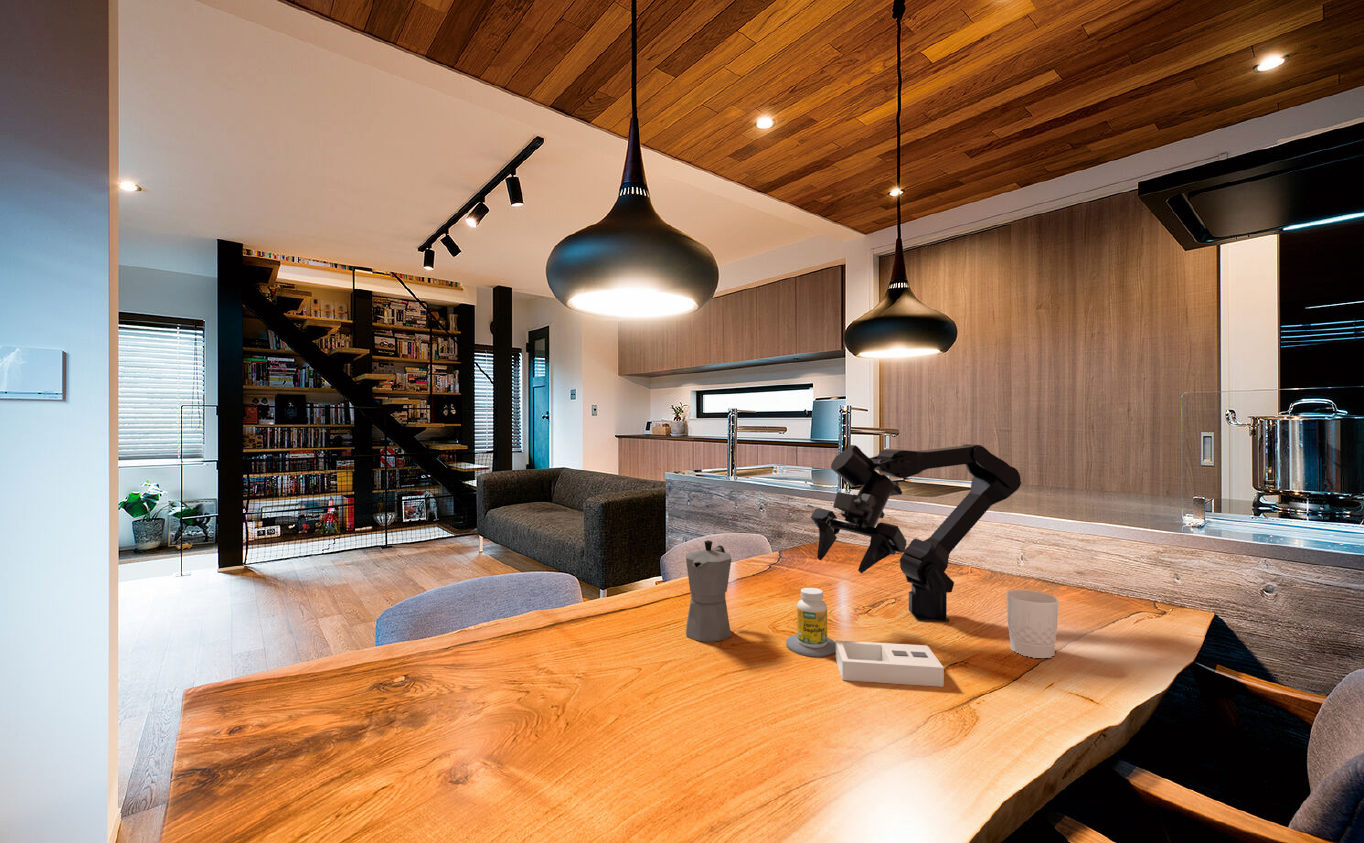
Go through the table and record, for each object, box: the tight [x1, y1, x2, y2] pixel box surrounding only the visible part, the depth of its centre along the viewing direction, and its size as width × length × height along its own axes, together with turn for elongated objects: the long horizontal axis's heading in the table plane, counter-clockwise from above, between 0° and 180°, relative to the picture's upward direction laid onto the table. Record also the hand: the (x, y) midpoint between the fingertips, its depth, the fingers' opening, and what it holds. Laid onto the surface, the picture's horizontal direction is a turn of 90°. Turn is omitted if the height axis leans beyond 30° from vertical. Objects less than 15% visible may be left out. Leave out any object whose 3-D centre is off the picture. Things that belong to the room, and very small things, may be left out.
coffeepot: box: [685, 540, 732, 643], centre depth 108 cm, size 15×9×18 cm, turn 157°
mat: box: [785, 633, 835, 658], centre depth 101 cm, size 9×9×1 cm
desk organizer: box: [834, 639, 945, 688], centre depth 91 cm, size 15×8×3 cm, turn 82°
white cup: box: [1006, 589, 1059, 659], centre depth 99 cm, size 8×8×10 cm
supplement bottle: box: [796, 587, 828, 648], centre depth 101 cm, size 5×5×10 cm
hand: (838, 565), depth 107 cm, fingers open, 9 cm apart
